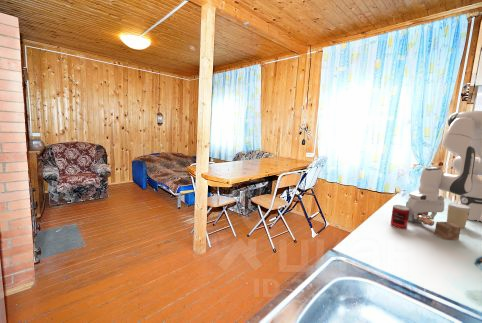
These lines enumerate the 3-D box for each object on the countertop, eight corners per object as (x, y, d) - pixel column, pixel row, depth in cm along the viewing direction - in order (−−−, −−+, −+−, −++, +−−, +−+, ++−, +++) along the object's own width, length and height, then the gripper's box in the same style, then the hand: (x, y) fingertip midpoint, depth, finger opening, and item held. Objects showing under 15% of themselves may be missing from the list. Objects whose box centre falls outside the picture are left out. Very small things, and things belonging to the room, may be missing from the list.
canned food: (401, 223, 132) (404, 205, 130) (410, 229, 124) (413, 210, 122) (387, 222, 132) (390, 204, 131) (395, 228, 125) (398, 209, 123)
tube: (410, 215, 141) (411, 209, 140) (434, 226, 125) (435, 219, 124) (404, 215, 140) (405, 209, 140) (427, 226, 124) (429, 219, 124)
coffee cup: (471, 229, 127) (475, 209, 125) (451, 227, 129) (455, 207, 127) (458, 223, 136) (462, 203, 134) (440, 221, 138) (444, 202, 136)
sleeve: (413, 218, 140) (414, 208, 139) (421, 222, 134) (423, 212, 133) (403, 218, 139) (404, 208, 138) (411, 222, 133) (413, 212, 132)
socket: (446, 234, 120) (448, 221, 119) (458, 239, 114) (461, 226, 113) (434, 234, 119) (436, 221, 118) (445, 239, 113) (448, 226, 112)
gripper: (438, 194, 131) (434, 217, 133) (406, 193, 129) (402, 216, 131) (449, 197, 125) (445, 221, 127) (416, 196, 123) (412, 221, 125)
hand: (423, 219), depth 129 cm, fingers open, 8 cm apart
